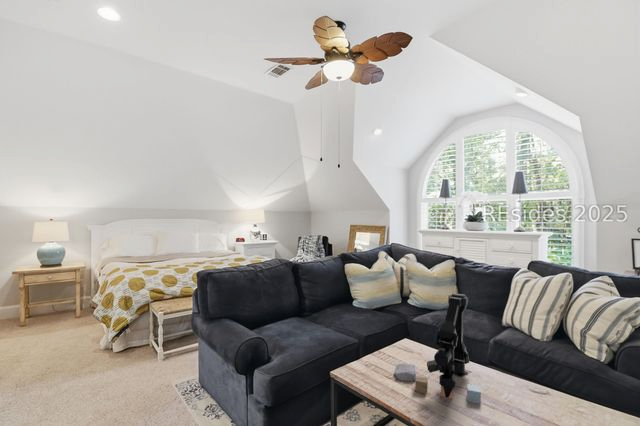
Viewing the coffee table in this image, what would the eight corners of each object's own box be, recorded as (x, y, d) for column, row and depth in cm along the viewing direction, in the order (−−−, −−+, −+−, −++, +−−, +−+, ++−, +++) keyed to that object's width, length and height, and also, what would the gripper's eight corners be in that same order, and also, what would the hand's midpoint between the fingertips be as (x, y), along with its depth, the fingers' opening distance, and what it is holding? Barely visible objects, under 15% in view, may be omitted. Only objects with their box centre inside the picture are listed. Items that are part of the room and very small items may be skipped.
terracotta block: (440, 390, 149) (440, 379, 149) (452, 392, 147) (452, 381, 147) (440, 396, 144) (440, 385, 144) (453, 398, 143) (453, 387, 143)
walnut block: (416, 385, 153) (416, 375, 153) (427, 388, 151) (427, 377, 151) (415, 391, 148) (415, 380, 148) (426, 393, 147) (427, 382, 146)
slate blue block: (466, 395, 145) (467, 384, 145) (479, 397, 144) (479, 386, 143) (467, 401, 141) (467, 390, 141) (480, 404, 139) (480, 392, 139)
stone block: (396, 384, 158) (417, 381, 156) (394, 373, 159) (415, 371, 157) (396, 372, 170) (415, 370, 168) (394, 363, 170) (413, 361, 168)
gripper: (428, 346, 157) (428, 378, 158) (427, 363, 140) (426, 399, 140) (453, 349, 153) (453, 382, 154) (455, 367, 136) (455, 405, 136)
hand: (446, 391), depth 146 cm, fingers open, 9 cm apart
